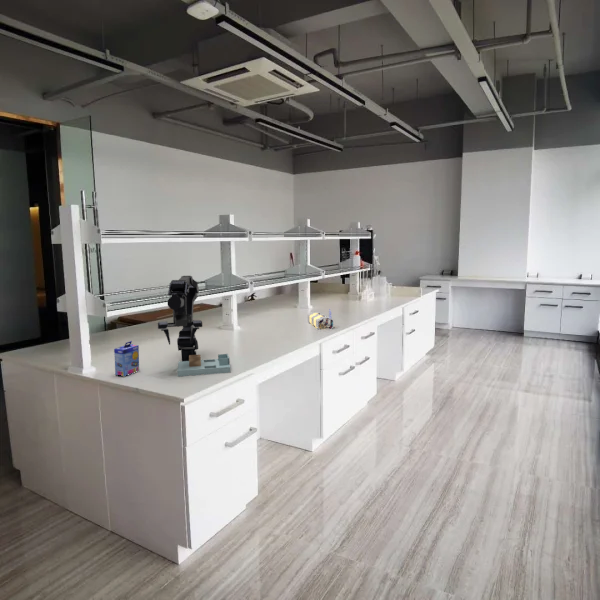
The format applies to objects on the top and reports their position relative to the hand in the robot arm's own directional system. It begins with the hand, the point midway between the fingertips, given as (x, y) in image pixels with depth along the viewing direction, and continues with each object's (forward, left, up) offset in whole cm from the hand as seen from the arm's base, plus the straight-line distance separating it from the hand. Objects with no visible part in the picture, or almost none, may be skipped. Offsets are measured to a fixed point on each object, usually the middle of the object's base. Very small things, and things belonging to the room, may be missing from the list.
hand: (180, 343), depth 199 cm
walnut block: (+6, +1, -10) cm, 12 cm away
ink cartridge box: (-23, +4, -13) cm, 27 cm away
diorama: (+88, +83, -13) cm, 122 cm away
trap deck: (+10, +1, -13) cm, 16 cm away
